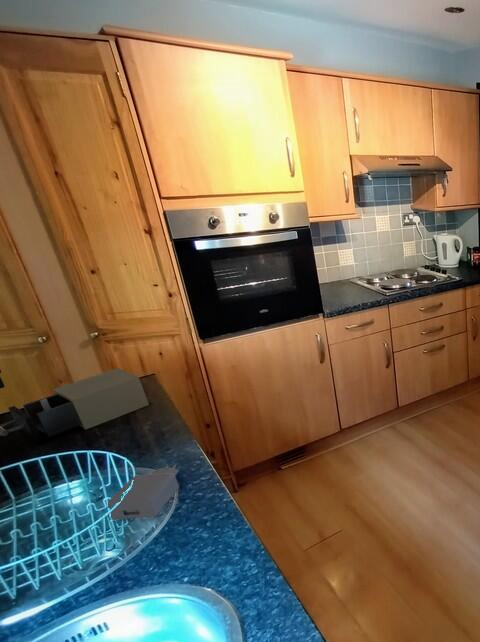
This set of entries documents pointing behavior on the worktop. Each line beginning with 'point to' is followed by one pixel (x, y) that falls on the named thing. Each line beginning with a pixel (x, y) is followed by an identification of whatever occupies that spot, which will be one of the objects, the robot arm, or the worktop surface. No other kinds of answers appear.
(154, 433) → the worktop surface
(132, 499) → the charger
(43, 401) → the orange lobed block
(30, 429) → the dark drawer with handle
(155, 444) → the worktop surface
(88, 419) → the grey sloped box
